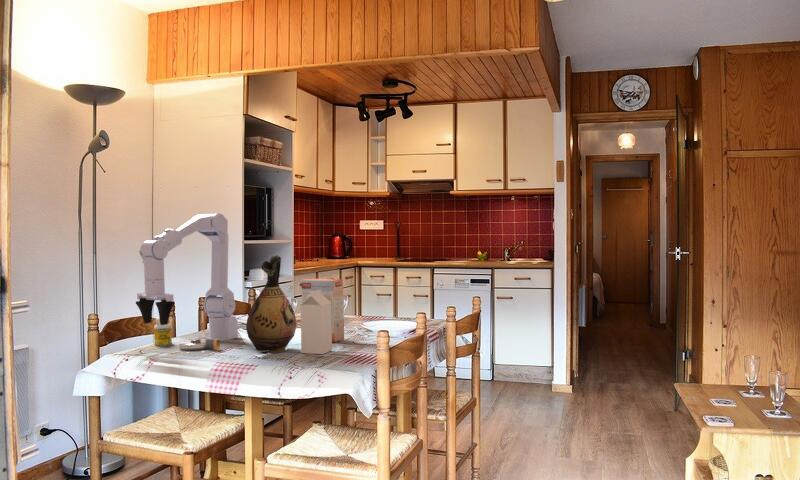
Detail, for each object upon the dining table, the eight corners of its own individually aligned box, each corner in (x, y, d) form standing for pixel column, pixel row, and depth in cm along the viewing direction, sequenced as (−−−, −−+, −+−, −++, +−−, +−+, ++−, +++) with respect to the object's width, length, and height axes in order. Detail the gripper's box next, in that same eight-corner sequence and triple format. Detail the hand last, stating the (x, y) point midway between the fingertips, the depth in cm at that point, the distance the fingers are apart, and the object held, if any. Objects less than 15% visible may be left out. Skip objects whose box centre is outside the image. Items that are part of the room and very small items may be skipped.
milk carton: (332, 350, 209) (330, 290, 209) (322, 354, 203) (320, 292, 202) (311, 349, 212) (310, 289, 211) (301, 353, 205) (299, 292, 204)
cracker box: (345, 340, 228) (343, 278, 227) (334, 343, 223) (332, 280, 222) (313, 337, 235) (312, 277, 235) (302, 339, 230) (300, 279, 230)
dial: (172, 349, 211) (172, 339, 211) (196, 343, 219) (196, 334, 219) (206, 352, 204) (206, 342, 204) (229, 347, 212) (229, 337, 212)
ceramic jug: (290, 355, 203) (288, 256, 202) (240, 355, 204) (238, 257, 203) (302, 345, 220) (300, 254, 219) (256, 345, 221) (254, 254, 220)
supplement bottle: (169, 344, 225) (168, 316, 225) (173, 347, 221) (172, 318, 220) (152, 346, 222) (152, 318, 222) (156, 349, 218) (156, 319, 217)
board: (196, 343, 226) (196, 340, 226) (241, 348, 217) (241, 344, 217) (148, 354, 209) (148, 350, 209) (195, 359, 199) (195, 355, 199)
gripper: (128, 279, 205) (129, 324, 205) (159, 281, 197) (160, 327, 198) (147, 278, 211) (148, 320, 211) (178, 279, 203) (179, 323, 204)
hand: (155, 323), depth 205 cm, fingers open, 7 cm apart
